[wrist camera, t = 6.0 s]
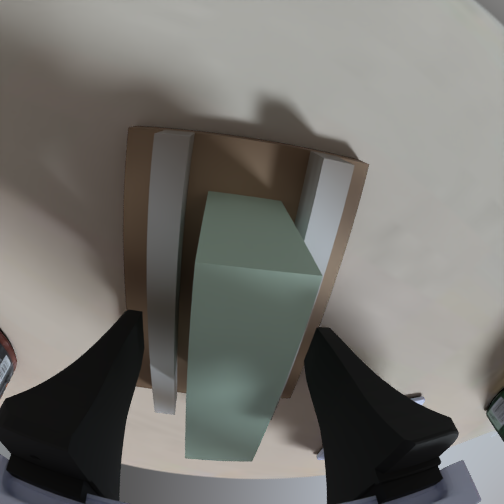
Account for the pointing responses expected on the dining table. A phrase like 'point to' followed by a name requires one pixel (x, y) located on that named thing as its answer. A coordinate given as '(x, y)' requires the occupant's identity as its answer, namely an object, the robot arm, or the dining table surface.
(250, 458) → the pale green block
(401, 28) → the dining table surface
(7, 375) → the supplement bottle
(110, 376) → the robot arm
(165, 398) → the brown shallow piece
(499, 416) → the coffee jar
